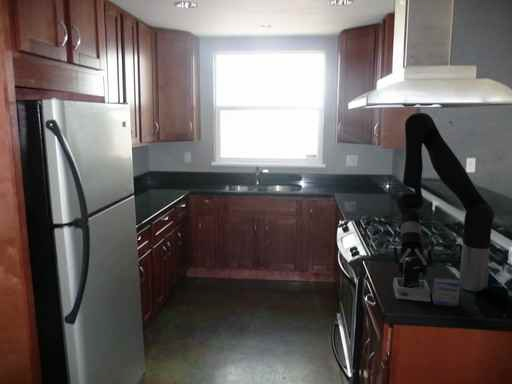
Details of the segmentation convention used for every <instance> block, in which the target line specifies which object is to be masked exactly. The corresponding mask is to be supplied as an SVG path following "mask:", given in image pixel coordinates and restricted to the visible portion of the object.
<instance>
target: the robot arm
mask: <svg viewBox="0 0 512 384" xmlns="http://www.w3.org/2000/svg"><path fill="white" fill-rule="evenodd" d="M404 132H405V158H404V159H405V161H404V169H403V176H402V177H403V178H402V185H403V187H407V188H410V189H413V190H414V192H410V191H409V192H406V191H400V192H398V194H397V195H396V197H395V201H396V207H397V208H398V211H399V214H400V218H401V219H400V220H401V228H400V237H401V238H400V241H401V242H400V244H401V245H400V248H399V247H397V246H394V247H393V248H392V255H393V256H392V258H393V264H395V265H396V264H397V265H398V273H399V274H400V275H402V274H403V262H404V260H405V259H406V258H409V257H418V258H419V259H421V260H422V261H423V270H422V272H421V276H422V277H425V276H426V275H427V274H428V268H427V267H431V265H432V264H433V258H432V256H433V255H432V249H428V250H426V249H424V248H423V241H422V239H423V238H422V229H421V228H422V227H421V219H420V214H419V212H418V211H419V210H420V209H421V208H422V207H423V206H424V197H423V193H422V179H423V178H422V177H423V170H424V169H423V166H424V165H423V164H424V163H423V152H422V151H423V146H424V147H425V149H426V151H427V153H428V157H429V160H430V163H431V165H432V167H433V169H434V172H436V174H437V176H438V177H439V179H440V180H441V182H442V183H443V184H444V185H445V187H446V188H448V189H449V190H450V192H452V193H453V194H454V196H456V198H457V199H458V200H459V201H460V203H461V204H462V207H463V209H464V211H465V214H464V215H465V216H464V220H463V229H462V230H463V231H462V239H463V240H462V249H461V258H460V268H459V275H458V276H459V278H458V282H459V284H460V289H463V290H466V291H469V292H475V293H478V292H477V291H480V290H481V289H483V288H485V287H487V288H488V282H489V274H490V267H489V257H490V251H491V243H492V241H491V240H492V239H491V237H492V230H493V229H492V227H493V222H494V219H495V211H494V210H493V208H492V207H491V205H490V204H489V203H488V202H487V201H486V200H485V199H484V197H483V195H482V194H480V192H479V191H478V189H477V188H476V186H475V185H474V183H473V181H472V179H471V177H470V176H469V174H468V172H467V171H466V168H464V166H463V165H462V163H461V162H460V160H459V158H458V157H457V155H455V153H454V152H453V150H452V149H451V147H450V146H449V145H448V143H447V142H446V141H445V139H444V138H443V137H442V135H441V133H440V131H439V129H438V127H437V125H436V123H435V122H434V120H433V118H432V117H431V115H429V114H428V113H426V112H416V113H412V114H410V115H409V116H408V117H407V118H406V120H405V123H404ZM417 210H418V211H417ZM400 253H401V254H402V257H401V258H400V259H398V255H399V254H400ZM423 254H424V256H425V257H426V260H425V258H424V256H423Z"/></svg>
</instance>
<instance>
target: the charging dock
mask: <svg viewBox="0 0 512 384" xmlns="http://www.w3.org/2000/svg"><path fill="white" fill-rule="evenodd" d="M392 286H393V289H394V294H395V298H396V299H397V300H398V299H399V300H400V299H401V300H410V301H419V302H431V300H432V298H431V297H430V296H431V289H430V287H429V284H428V283H427V280H424V279H419V287H415V288H405V287H403V286H402V277H394V278H393V282H392Z"/></svg>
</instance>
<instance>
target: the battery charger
mask: <svg viewBox="0 0 512 384" xmlns="http://www.w3.org/2000/svg"><path fill="white" fill-rule="evenodd" d="M422 270H423V261H422V260H421V259H419V258H418V257H409V258H406V259H405V260H404V262H403V274H401V276H402V277H401V278H402V286H403V287H405V288H415V287H419V280H420V279H419V278H420V273H422Z"/></svg>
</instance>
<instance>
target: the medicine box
mask: <svg viewBox="0 0 512 384" xmlns="http://www.w3.org/2000/svg"><path fill="white" fill-rule="evenodd" d="M432 283H433V284H432V295H431V300H432V302H433V304H434V305H435V306H444V307H445V306H447V307H458V306H459V298H460V289H461V287H460V284H459V280H458V279H453V278H439V277H433V282H432Z"/></svg>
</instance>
